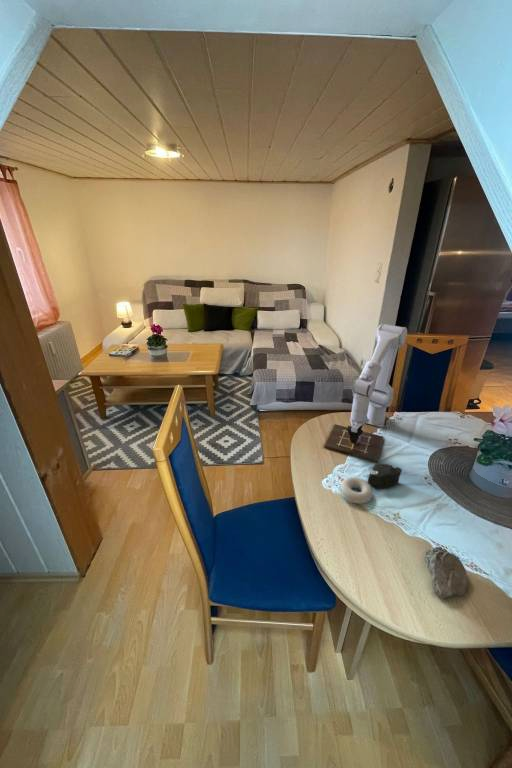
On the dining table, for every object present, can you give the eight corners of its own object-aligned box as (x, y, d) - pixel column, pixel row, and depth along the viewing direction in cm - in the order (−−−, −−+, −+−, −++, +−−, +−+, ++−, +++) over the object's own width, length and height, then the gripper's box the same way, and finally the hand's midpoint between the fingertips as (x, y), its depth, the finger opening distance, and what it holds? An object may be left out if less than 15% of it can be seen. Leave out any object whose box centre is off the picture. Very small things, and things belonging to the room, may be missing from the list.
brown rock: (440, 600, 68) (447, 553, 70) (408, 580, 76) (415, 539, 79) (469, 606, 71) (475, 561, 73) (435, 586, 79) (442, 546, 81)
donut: (343, 479, 104) (336, 499, 96) (344, 471, 103) (338, 491, 95) (373, 488, 100) (369, 510, 92) (375, 480, 99) (371, 502, 91)
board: (334, 426, 132) (335, 424, 131) (383, 438, 123) (383, 436, 123) (324, 447, 119) (324, 444, 119) (377, 463, 111) (378, 460, 110)
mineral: (394, 498, 96) (397, 485, 94) (365, 487, 101) (367, 474, 98) (399, 479, 104) (403, 466, 101) (372, 469, 108) (375, 456, 106)
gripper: (367, 420, 106) (362, 450, 113) (374, 401, 118) (368, 430, 124) (347, 415, 109) (343, 445, 116) (355, 397, 121) (351, 425, 127)
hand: (355, 437), depth 120 cm, fingers open, 7 cm apart
